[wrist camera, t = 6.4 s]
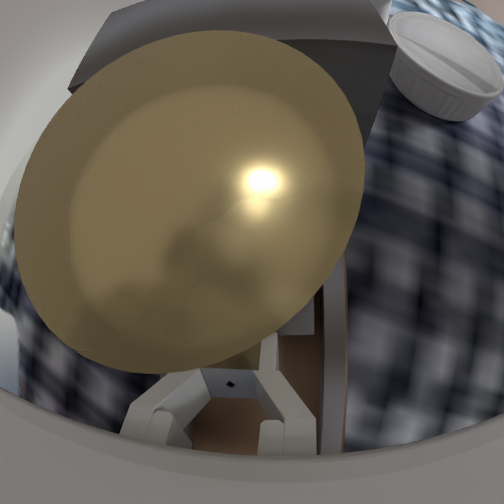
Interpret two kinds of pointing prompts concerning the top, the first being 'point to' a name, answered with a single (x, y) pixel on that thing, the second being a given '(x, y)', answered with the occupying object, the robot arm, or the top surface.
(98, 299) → the knob
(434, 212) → the top surface
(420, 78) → the ramekin
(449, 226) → the top surface
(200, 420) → the rail mount
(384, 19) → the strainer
